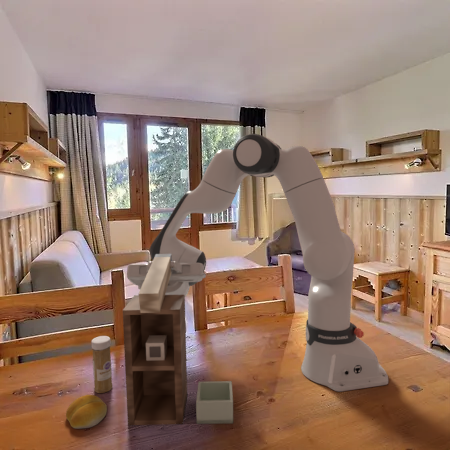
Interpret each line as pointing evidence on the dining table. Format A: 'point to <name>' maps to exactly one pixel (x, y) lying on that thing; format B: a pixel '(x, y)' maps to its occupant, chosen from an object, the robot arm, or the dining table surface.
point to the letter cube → (156, 347)
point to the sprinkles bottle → (102, 364)
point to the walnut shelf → (155, 363)
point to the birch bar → (155, 284)
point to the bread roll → (86, 412)
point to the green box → (214, 402)
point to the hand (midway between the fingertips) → (161, 264)
